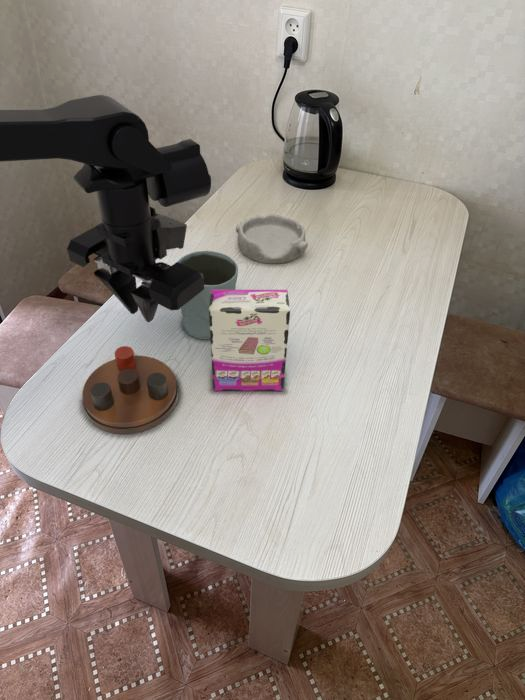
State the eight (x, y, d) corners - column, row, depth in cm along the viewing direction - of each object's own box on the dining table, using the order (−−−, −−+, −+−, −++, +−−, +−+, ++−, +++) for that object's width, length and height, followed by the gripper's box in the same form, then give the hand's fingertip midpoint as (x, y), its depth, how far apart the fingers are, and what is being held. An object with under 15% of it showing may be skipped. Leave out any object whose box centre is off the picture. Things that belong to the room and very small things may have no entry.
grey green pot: (171, 314, 91) (165, 258, 83) (222, 299, 95) (221, 244, 87) (193, 349, 85) (189, 292, 77) (247, 332, 89) (248, 276, 80)
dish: (313, 260, 106) (316, 240, 102) (252, 272, 102) (252, 251, 98) (286, 226, 115) (287, 206, 112) (228, 236, 111) (228, 215, 108)
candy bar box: (281, 369, 82) (289, 288, 71) (283, 392, 79) (292, 310, 68) (213, 368, 82) (210, 287, 71) (211, 391, 78) (208, 309, 67)
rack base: (86, 443, 70) (84, 438, 70) (82, 373, 80) (80, 367, 79) (186, 423, 74) (185, 418, 73) (170, 357, 83) (169, 352, 82)
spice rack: (86, 436, 70) (80, 418, 67) (81, 368, 79) (76, 349, 76) (183, 416, 73) (181, 398, 70) (168, 353, 82) (166, 335, 79)
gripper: (229, 212, 61) (230, 311, 72) (118, 170, 68) (133, 267, 79) (169, 253, 54) (179, 356, 65) (51, 201, 61) (78, 302, 72)
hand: (142, 316), depth 71 cm, fingers open, 3 cm apart
